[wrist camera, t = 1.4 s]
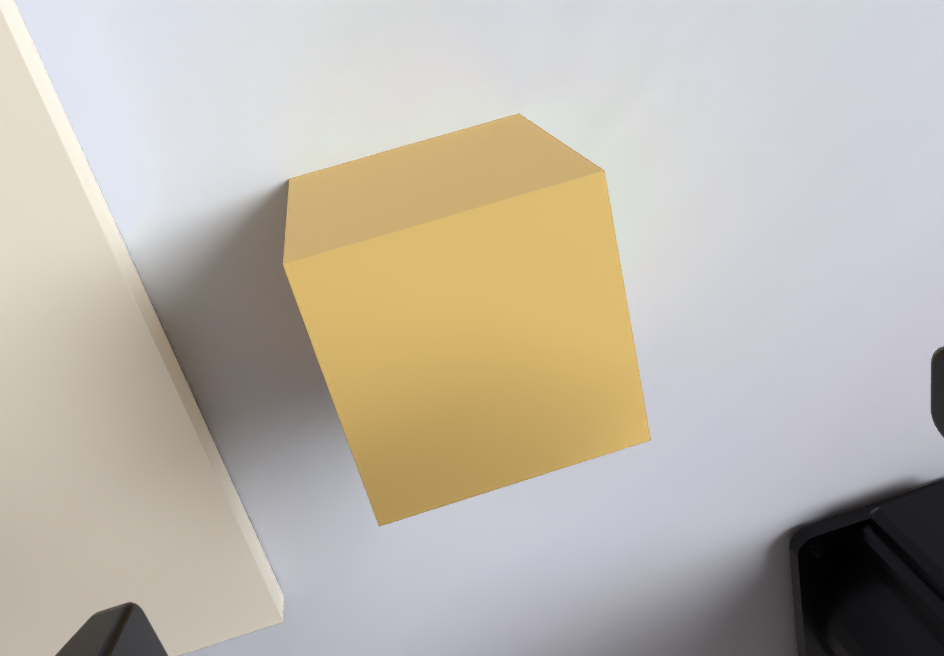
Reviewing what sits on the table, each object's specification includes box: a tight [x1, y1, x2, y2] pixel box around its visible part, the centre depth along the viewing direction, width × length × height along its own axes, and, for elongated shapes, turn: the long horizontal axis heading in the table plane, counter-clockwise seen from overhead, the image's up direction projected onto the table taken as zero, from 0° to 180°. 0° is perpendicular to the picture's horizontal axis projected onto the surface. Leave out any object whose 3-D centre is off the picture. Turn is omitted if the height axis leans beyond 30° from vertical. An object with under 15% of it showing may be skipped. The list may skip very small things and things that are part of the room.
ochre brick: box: [283, 114, 651, 526], centre depth 14 cm, size 4×4×5 cm
